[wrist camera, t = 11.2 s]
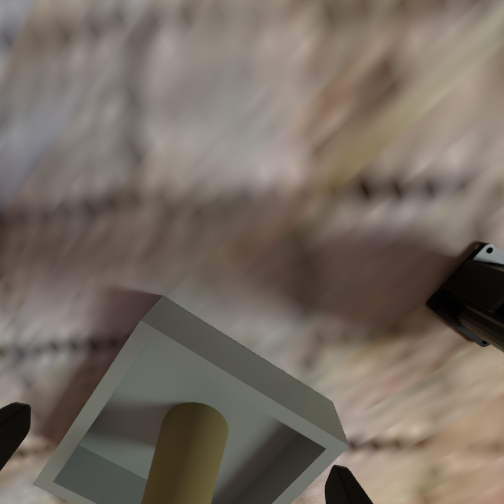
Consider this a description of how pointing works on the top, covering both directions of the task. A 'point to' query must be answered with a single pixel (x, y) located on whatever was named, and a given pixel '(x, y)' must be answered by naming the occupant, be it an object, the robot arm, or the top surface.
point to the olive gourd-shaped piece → (187, 456)
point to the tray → (201, 391)
